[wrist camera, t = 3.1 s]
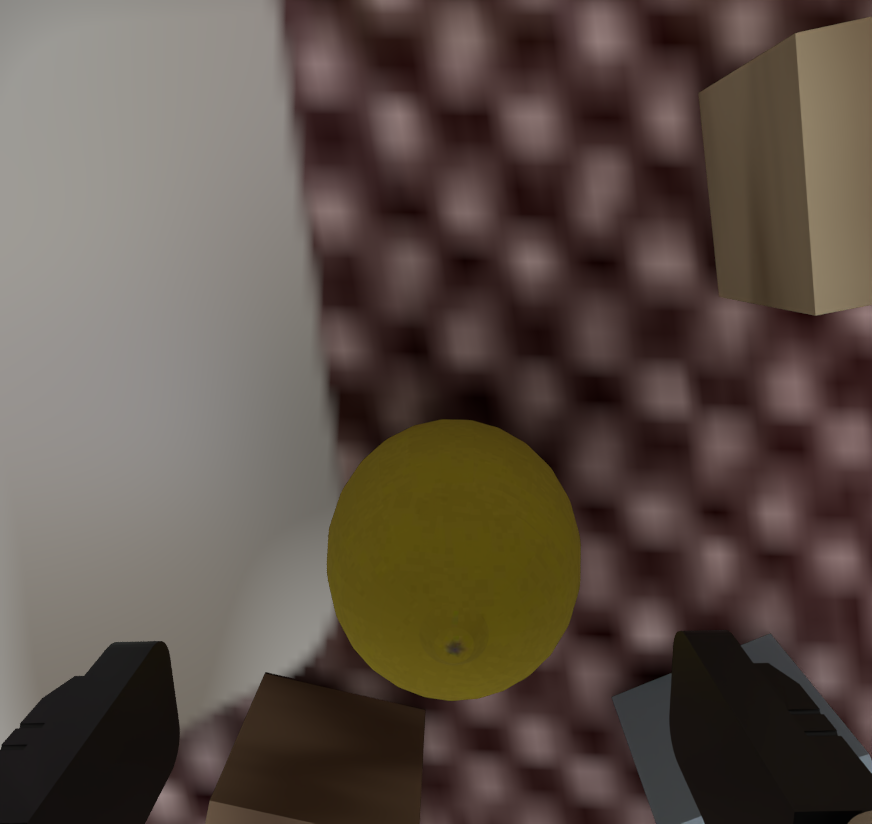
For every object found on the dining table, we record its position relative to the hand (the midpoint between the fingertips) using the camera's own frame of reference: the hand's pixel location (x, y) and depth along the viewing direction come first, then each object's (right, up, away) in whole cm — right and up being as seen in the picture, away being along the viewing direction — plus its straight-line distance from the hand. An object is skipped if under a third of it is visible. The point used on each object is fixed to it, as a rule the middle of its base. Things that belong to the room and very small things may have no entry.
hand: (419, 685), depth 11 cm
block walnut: (-3, -7, +11) cm, 13 cm away
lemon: (+1, +2, +9) cm, 9 cm away
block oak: (+10, +10, +6) cm, 15 cm away
